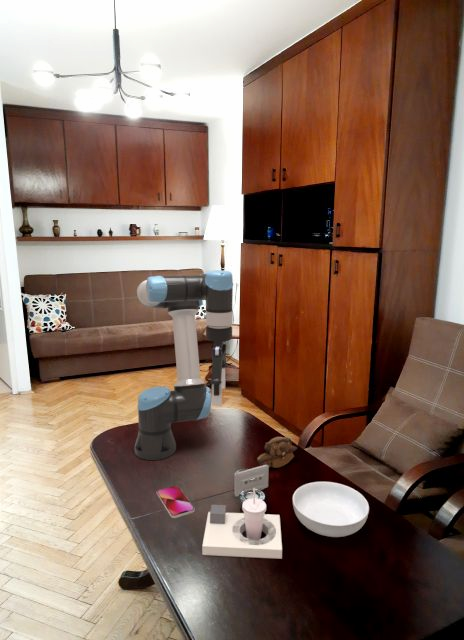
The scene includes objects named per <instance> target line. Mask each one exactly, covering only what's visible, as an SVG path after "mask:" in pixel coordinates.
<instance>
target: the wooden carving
mask: <svg viewBox="0 0 464 640" xmlns="http://www.w3.org/2000/svg"><path fill="white" fill-rule="evenodd" d="M264 450H265V452H264V453H261V454H260V455H259V456H258V457H257V458H256V461H257V462H258V464H259V466H263V465H266V464H267V465H268V466H269V468H271V467H272V468H281V467H284V466H285V465H287V464H289V463H290V462H291V460H293V459H294V458H295V455H294V453H293V452H295V451H297V450H298V447H297V446H295V445H292V440H291V438H289V437H287V436H285V437H282V436H276V437H273V438H271V439H270V440H269V441H268V442H265V445H264Z"/></svg>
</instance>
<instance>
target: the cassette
mask: <svg viewBox="0 0 464 640" xmlns="http://www.w3.org/2000/svg"><path fill="white" fill-rule="evenodd" d="M269 468H270V467H269V466H268V465H267V464H266V465H263V466H260V465H259V466H256V467H252V468H249V469H245V470H241V471H238V472H235V473H234V477H233V478H234V485H233V486H234V489H233V490H234V492H233V493H234V497H240V496H239V494H240V493H241V492H242V491H247V490H253V488H255V489H259V490H260V491H263V490H264V489H266V488H269V470H270V469H269Z"/></svg>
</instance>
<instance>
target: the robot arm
mask: <svg viewBox="0 0 464 640" xmlns="http://www.w3.org/2000/svg"><path fill="white" fill-rule="evenodd" d="M233 281H234V280H233V274H232V272H231V271H229V270H221V269H220V270H219V269H218V270H216V269H215V270H209V271H207V272H206V273H200V274H195V275H194V274H191V275H190V274H188V275H187V274H186V275H156V276H149V277H147V279H145V280H142V282H140V283H139V284H138V286H137V288H136V291H135V296H136V299H137V300H138V302H139V303H140V304H141V305H143V306H144V307H148V308H150V309H152V308H153V309H157V310H158V309H159V310H161V309H163V310H164V309H167V314H168V315H169V316H171V318H172V324H173V325H172V328H173V339H174V352H175V363H176V365H175V366H176V376H177V380H176V382H175V384H174V385H173V388H174V390H170V388H169V387H167V386H160V385H159V386H153V387H149V388H146V389H145V390H143V391H141V393H140V394H139V395H138V398H137V407H136V408H137V416H138V434H137V437H136V440H135V444H134V454H135V456H136V457H137V458H139V459H143V460H147V461H158V460H164V459H168V457H171V456H173V455H174V454H175V453H176V450H177V443H176V440H175V437H174V435H173V432H172V428H171V427H172V426H171V425H172V424H173V423H181V422H189V421H199V420H201V419H206V418H207V417H208V416H209V415H210V413H211V412H210V411H211V408H212V407H222V405H223V390H225V389H226V368H228V367H229V366H228V363H226V362H227V360H226V354H227V353H226V352H227V344H226V342H228V341H231V340H232V339H233V326H232V325H233V319H234V318H233V315H234V314H233V293H234V292H233V290H234V289H233V287H234V282H233ZM203 301H205V313H204V314H203V317H204V318H205V324H206V327H205V339H206V340H207V341H209V342H213V344H212V346H211V360H212V362H211V379H210V380H209V381H208V382H209V383H208V384H209V385H211V389H210V387H208V386H206V383H205V382H206V381H204V380H202V378H201V370H200V357H199V346H198V335H197V325H196V322H197V321H196V315H197V314H198V313H199V308H200V307H202V306H203Z"/></svg>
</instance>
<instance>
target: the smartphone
mask: <svg viewBox="0 0 464 640" xmlns="http://www.w3.org/2000/svg"><path fill="white" fill-rule="evenodd" d="M156 496H157V497H158V498H159V500H160V501H161V503H162V505H163V506H164V508H165V511H167V513H168V515H169V516H170V517H171V518H172V519H177V518H181V517H184V516H187V515H190V514H193V513H195V511H196V510H195V507H194V505H193V503H192V502H191V501H190V500H189V498H188V496H186V494H185V492H183V490H182V489H181V488H180V486H179V485H171V486H169V487H165V488H160V489H158V490H157V491H156Z"/></svg>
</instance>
